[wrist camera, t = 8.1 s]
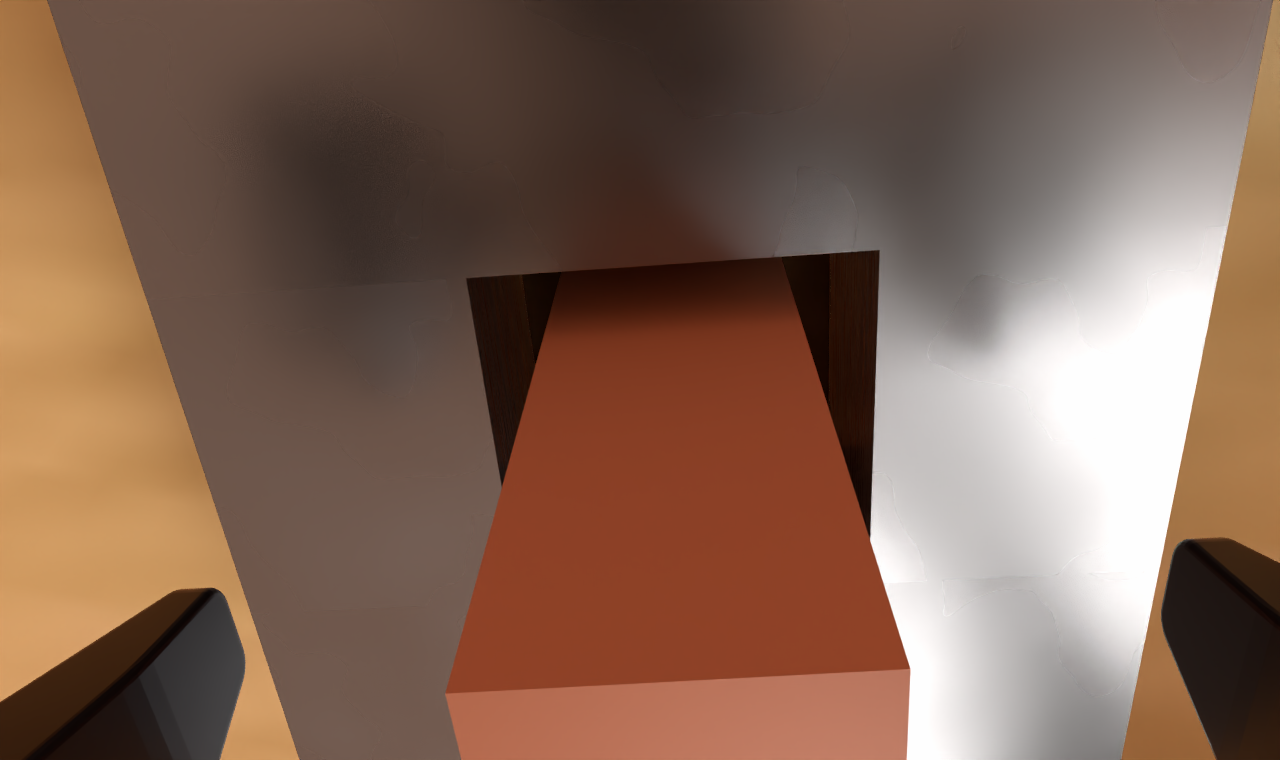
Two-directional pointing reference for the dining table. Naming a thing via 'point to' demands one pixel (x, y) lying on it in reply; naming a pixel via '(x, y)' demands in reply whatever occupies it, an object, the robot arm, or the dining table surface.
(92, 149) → the dining table surface
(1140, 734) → the dining table surface
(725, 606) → the terracotta rectangular prism
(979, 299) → the grey square hole block
